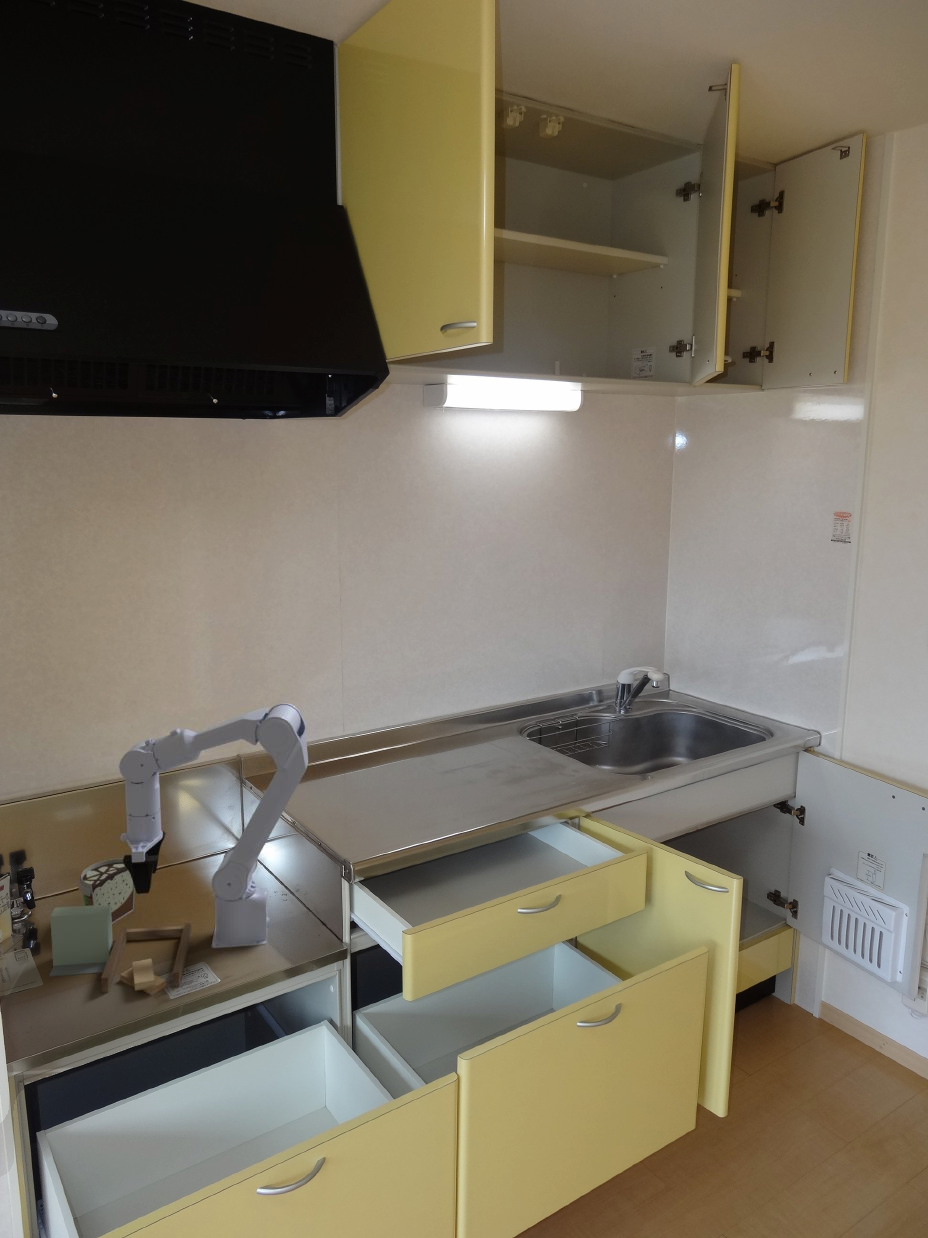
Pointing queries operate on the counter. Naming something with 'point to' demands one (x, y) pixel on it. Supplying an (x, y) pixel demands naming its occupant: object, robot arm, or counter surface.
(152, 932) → the walnut rack
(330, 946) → the counter surface
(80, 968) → the slate mat
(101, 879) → the food container
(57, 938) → the sage panel
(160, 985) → the offcut middle
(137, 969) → the offcut top
